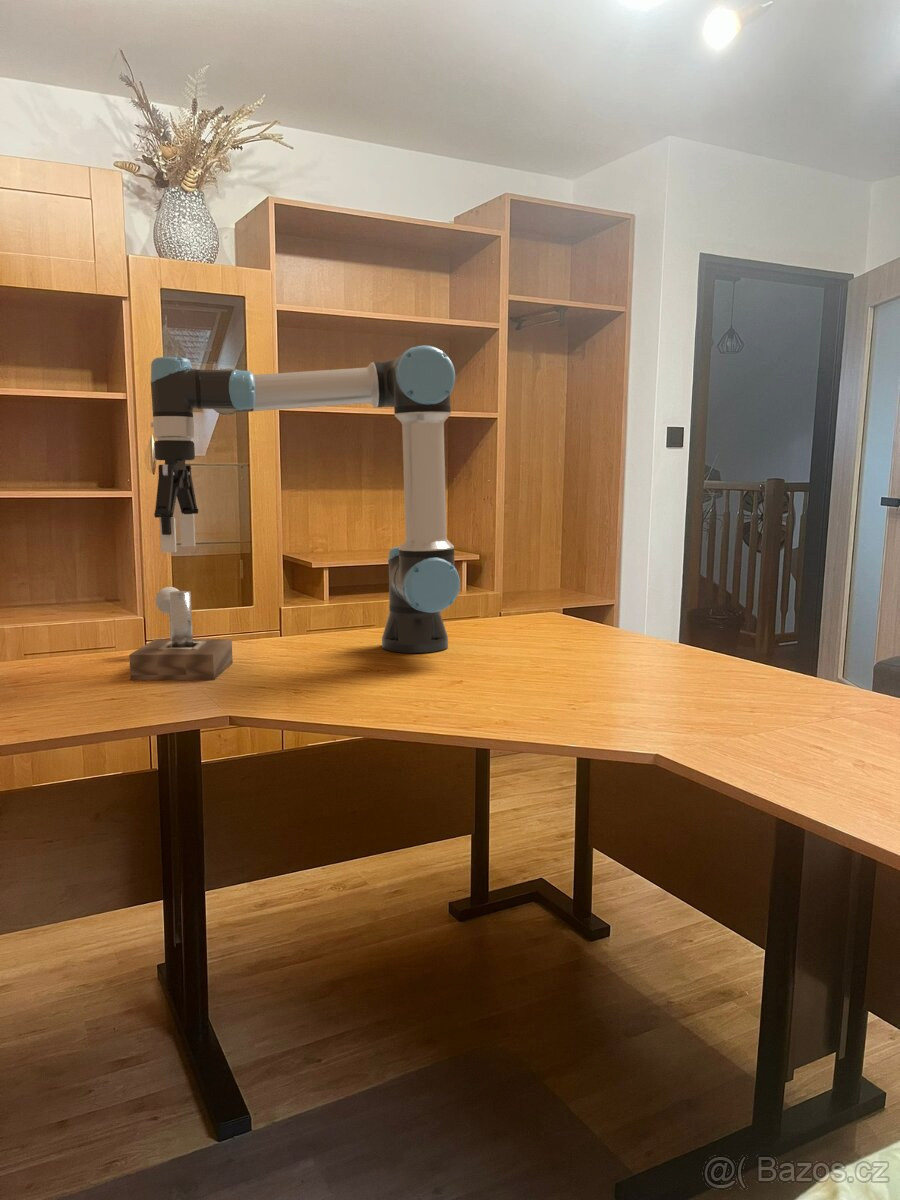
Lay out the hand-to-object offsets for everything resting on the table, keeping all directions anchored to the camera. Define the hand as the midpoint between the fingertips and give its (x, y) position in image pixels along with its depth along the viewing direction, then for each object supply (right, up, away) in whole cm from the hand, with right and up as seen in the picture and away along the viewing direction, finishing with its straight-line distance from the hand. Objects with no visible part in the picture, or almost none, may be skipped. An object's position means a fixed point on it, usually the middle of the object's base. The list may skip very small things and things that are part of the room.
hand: (179, 549), depth 178 cm
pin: (0, -23, +3) cm, 24 cm away
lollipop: (-7, -22, +19) cm, 30 cm away
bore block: (0, -24, +3) cm, 25 cm away
